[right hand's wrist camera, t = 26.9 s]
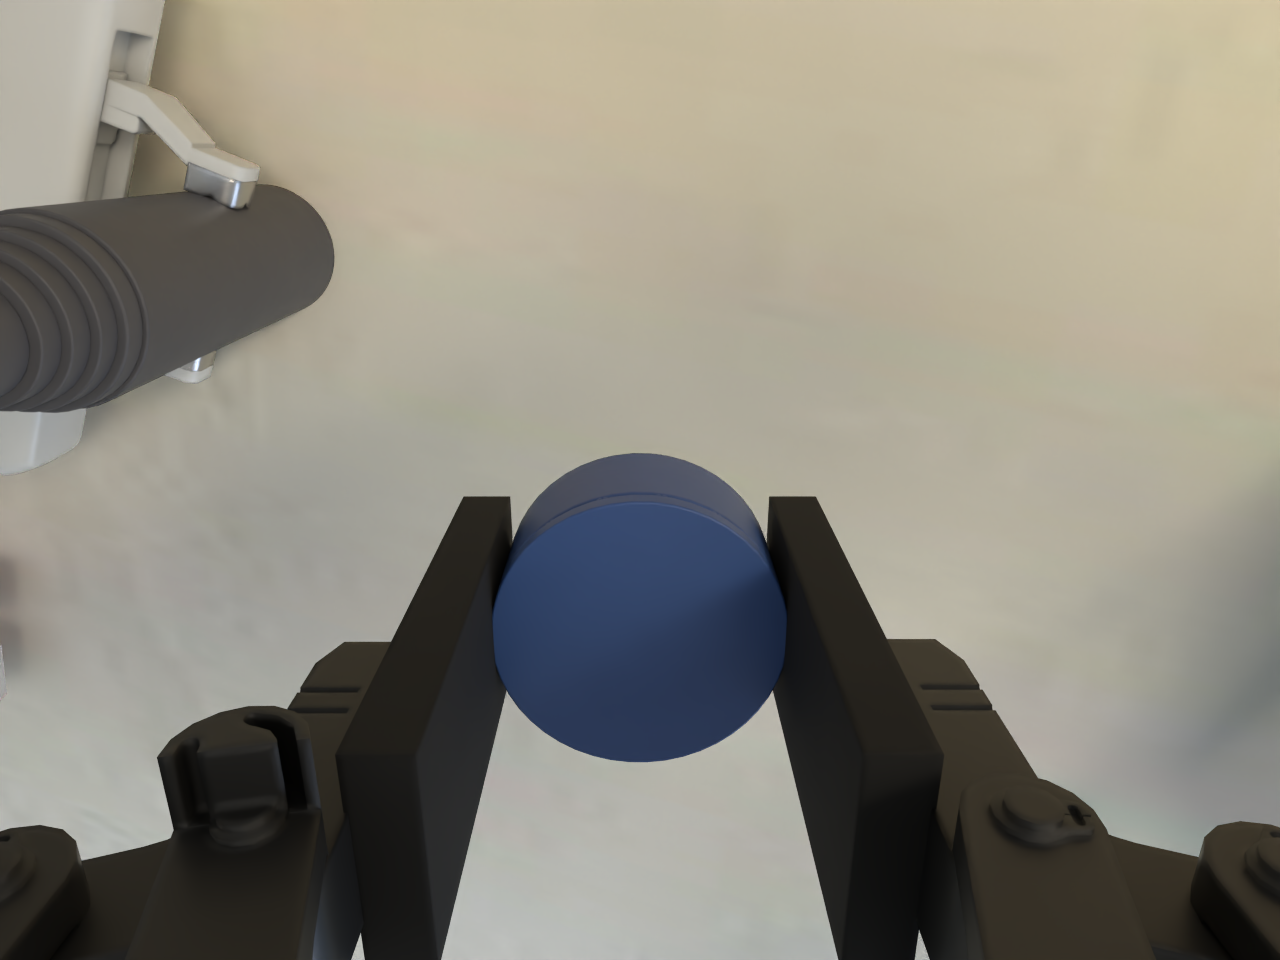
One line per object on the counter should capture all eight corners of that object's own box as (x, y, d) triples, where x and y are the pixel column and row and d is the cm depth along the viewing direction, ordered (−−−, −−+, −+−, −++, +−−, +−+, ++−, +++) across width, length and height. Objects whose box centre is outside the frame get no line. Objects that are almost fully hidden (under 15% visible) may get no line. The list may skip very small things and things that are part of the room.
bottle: (278, 158, 37) (-144, 171, 17) (360, 270, 38) (60, 401, 19) (181, 230, 38) (-323, 321, 18) (264, 336, 39) (-115, 526, 20)
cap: (462, 517, 14) (435, 576, 12) (704, 408, 14) (716, 451, 12) (582, 718, 16) (574, 801, 14) (808, 626, 15) (833, 700, 13)
